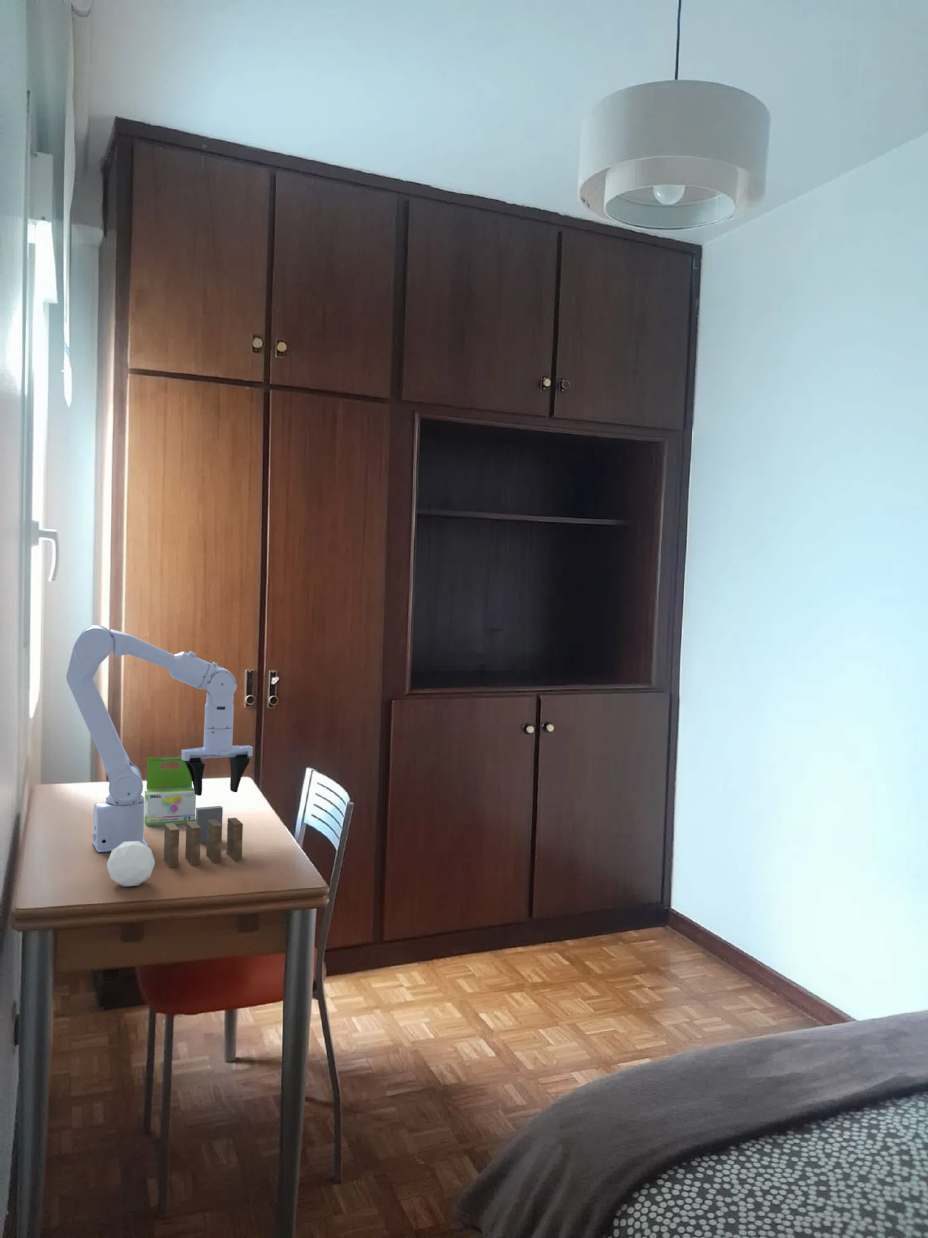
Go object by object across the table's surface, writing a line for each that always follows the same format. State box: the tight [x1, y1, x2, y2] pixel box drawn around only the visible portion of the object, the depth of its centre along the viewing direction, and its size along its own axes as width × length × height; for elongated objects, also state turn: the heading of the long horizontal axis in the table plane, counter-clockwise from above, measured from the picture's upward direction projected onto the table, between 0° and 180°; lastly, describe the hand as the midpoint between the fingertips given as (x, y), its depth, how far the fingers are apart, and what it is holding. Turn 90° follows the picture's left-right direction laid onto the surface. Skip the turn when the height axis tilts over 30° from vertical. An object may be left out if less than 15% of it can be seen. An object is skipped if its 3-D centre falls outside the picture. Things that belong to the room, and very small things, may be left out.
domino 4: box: [205, 819, 223, 864], centre depth 185 cm, size 2×5×7 cm, turn 29°
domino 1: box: [163, 823, 180, 868], centre depth 181 cm, size 2×5×7 cm, turn 29°
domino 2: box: [184, 820, 201, 866], centre depth 183 cm, size 2×5×7 cm, turn 29°
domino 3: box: [195, 805, 224, 844], centre depth 196 cm, size 2×5×7 cm, turn 118°
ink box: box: [144, 756, 197, 827], centre depth 210 cm, size 10×5×14 cm, turn 114°
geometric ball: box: [106, 841, 156, 888], centre depth 168 cm, size 8×8×8 cm
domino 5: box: [226, 817, 244, 861], centre depth 186 cm, size 2×5×7 cm, turn 29°
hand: (216, 793), depth 197 cm, fingers open, 7 cm apart
